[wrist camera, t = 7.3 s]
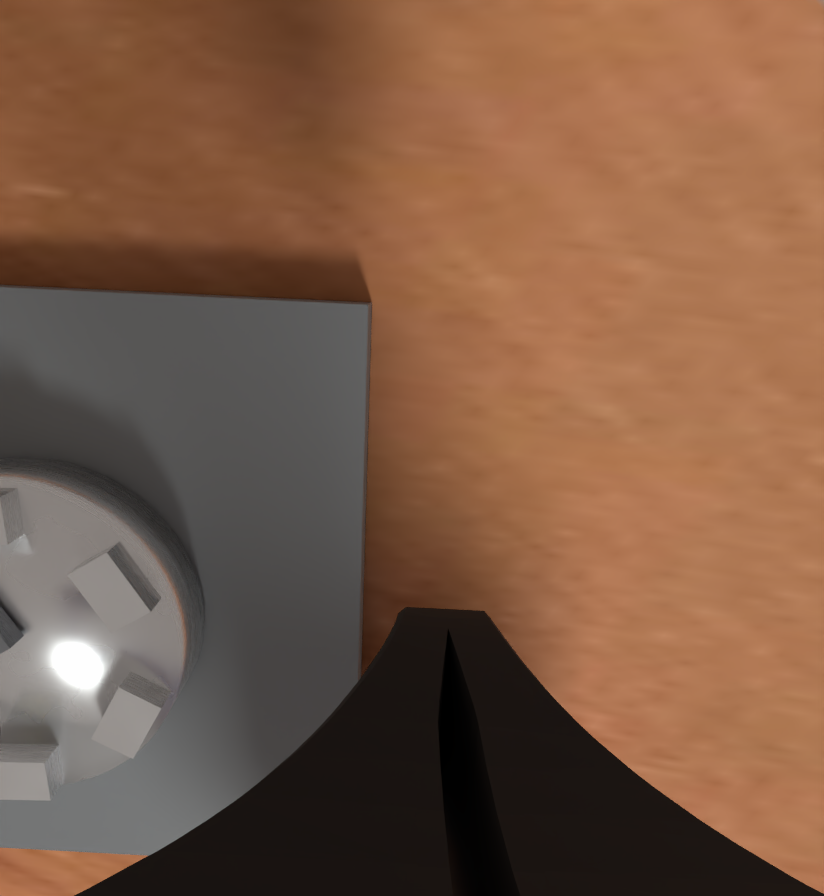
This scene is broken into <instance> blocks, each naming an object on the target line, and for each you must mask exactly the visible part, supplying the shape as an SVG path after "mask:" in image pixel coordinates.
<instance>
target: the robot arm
mask: <svg viewBox="0 0 824 896" xmlns="http://www.w3.org/2000/svg"><path fill="white" fill-rule="evenodd" d="M75 896H824V894H823V893H821V892H819V891H817V890H815V889H813V888H811V887H809V886H807V885H805V884H804V883H802V882H800V881H798V880H797V879H795V878H793V877H791V876H789V875H788V874H786V873H784V872H783V871H781V870H779V869H778V868H776V867H774V866H773V865H771V864H769V863H768V862H766V861H764V860H763V859H761V858H759V857H758V856H756V855H754V854H753V853H751V852H749V851H748V850H746V849H744V848H743V847H741V846H739V845H738V844H736V843H734V842H733V841H731V840H730V839H728V838H727V837H725V836H724V835H722V834H720V833H719V832H717V831H716V830H714V829H713V828H711V827H710V826H708V825H707V824H705V823H703V822H702V821H700V820H699V819H697V818H696V817H695V816H693V815H692V814H690V813H689V812H688V811H686V810H685V809H683V808H682V807H681V806H679V805H678V804H676V803H675V802H674V801H672V800H671V799H669V798H668V797H667V796H665V795H664V794H662V793H661V792H660V791H658V790H657V789H655V788H654V787H653V786H651V785H650V784H649V783H648V782H646V781H645V780H644V779H642V778H641V777H640V776H638V775H637V774H636V773H635V772H633V771H632V770H631V769H630V768H628V767H627V766H626V765H625V764H624V763H623V762H621V761H620V760H619V759H618V758H617V757H615V756H614V755H613V754H612V753H611V752H610V751H608V750H607V749H606V748H605V747H604V746H603V745H601V744H600V743H599V742H598V741H597V740H596V739H594V738H593V737H592V736H591V735H590V734H589V733H588V732H587V731H586V730H585V729H584V728H583V727H582V726H580V725H579V724H578V723H577V722H576V721H575V720H574V719H573V718H572V716H571V715H570V714H569V713H568V712H567V711H566V710H565V709H564V708H563V707H562V706H561V705H560V704H559V703H558V702H557V701H556V700H555V699H554V698H553V697H552V696H551V695H550V693H549V692H548V691H547V690H546V689H545V688H544V686H543V685H542V684H541V683H540V682H539V681H538V679H537V678H536V677H535V676H534V675H533V674H532V672H531V671H530V670H529V669H528V668H527V666H526V665H525V664H524V663H523V661H522V660H521V659H520V658H519V656H518V655H517V654H516V652H515V651H514V650H513V649H512V647H511V646H510V645H509V643H508V642H507V641H506V639H505V638H504V637H503V635H502V634H501V632H500V631H499V630H498V628H497V627H496V625H495V624H494V623H493V621H492V620H491V618H490V617H489V616H488V615H487V614H486V613H485V611H472V610H453V609H433V608H413V607H406V608H404V609H403V610H402V611H401V612H400V613H398V616H397V620H396V622H395V624H394V626H393V628H392V630H391V632H390V634H389V636H388V638H387V639H386V641H385V643H384V644H383V646H382V648H381V649H380V651H379V652H378V654H377V655H376V657H375V658H374V660H373V661H372V663H371V664H370V666H369V667H368V668H367V670H366V671H365V673H364V674H363V676H362V677H361V678H360V680H359V681H358V682H357V684H356V685H355V686H354V687H353V688H352V690H351V691H350V692H349V693H348V695H347V696H346V697H345V698H344V699H343V701H342V702H341V703H340V704H339V706H338V707H337V708H336V709H335V710H334V712H333V713H332V714H331V715H330V716H329V717H328V718H327V719H326V720H325V721H324V723H323V724H322V725H321V726H320V727H319V728H318V729H317V730H316V731H315V732H314V733H313V734H312V735H311V736H310V737H309V738H308V739H307V740H306V741H305V742H304V743H303V744H302V745H301V746H300V747H299V748H298V749H297V750H296V751H294V752H293V753H292V754H291V755H290V756H289V757H288V758H287V759H285V760H284V761H283V762H282V763H281V764H280V765H278V766H277V767H276V768H275V769H274V770H273V771H272V772H270V773H269V774H268V775H267V776H266V777H265V778H263V779H262V780H261V781H260V782H259V783H257V784H256V785H255V786H254V787H252V788H251V789H250V790H249V791H247V792H246V793H245V794H243V795H242V796H241V797H239V798H238V799H237V800H236V801H234V802H233V803H231V804H230V805H228V806H227V807H225V808H224V809H223V810H221V811H220V812H218V813H217V814H215V815H214V816H212V817H211V818H210V819H208V820H207V821H205V822H203V823H202V824H200V825H199V826H197V827H196V828H194V829H193V830H191V831H189V832H188V833H186V834H185V835H183V836H182V837H180V838H178V839H177V840H175V841H173V842H172V843H170V844H168V845H167V846H165V847H163V848H162V849H160V850H158V851H157V852H155V853H153V854H151V855H149V856H147V857H146V858H144V859H142V860H140V861H138V862H136V863H135V864H133V865H131V866H129V867H127V868H125V869H124V870H122V871H120V872H118V873H116V874H114V875H113V876H111V877H109V878H107V879H105V880H103V881H102V882H100V883H98V884H96V885H94V886H92V887H91V888H89V889H87V890H85V891H83V892H81V893H79V894H77V895H75Z"/></svg>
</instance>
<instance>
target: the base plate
mask: <svg viewBox="0 0 824 896" xmlns="http://www.w3.org/2000/svg"><path fill="white" fill-rule="evenodd" d="M371 319H372V303H371V302H350V301H329V300H308V299H288V298H267V297H246V296H225V295H204V294H183V293H162V292H141V291H120V290H100V289H79V288H58V287H37V286H16V285H0V460H1V459H6V458H22V457H31V458H45V459H53V460H58V461H63V462H68V463H72V464H75V465H78V466H81V467H84V468H87V469H91V470H93V471H95V472H97V473H100V474H102V475H104V476H106V477H108V478H110V479H112V480H114V481H116V482H117V483H119V484H121V485H122V486H124V487H126V488H127V489H129V490H131V491H132V492H133V493H134V494H136V495H137V496H138V497H140V498H141V499H142V500H143V501H145V502H146V503H147V504H148V505H150V506H151V507H152V508H153V509H154V510H155V511H156V512H157V513H158V514H159V515H160V516H161V517H162V518H163V519H164V521H165V522H166V523H167V524H168V525H169V527H170V528H171V529H172V530H173V532H174V533H175V534H176V535H177V537H178V539H179V540H180V542H181V544H182V545H183V547H184V548H185V550H186V552H187V553H188V556H189V558H190V560H191V562H192V564H193V567H194V569H195V571H196V574H197V577H198V581H199V584H200V587H201V591H202V598H203V604H204V633H203V640H202V646H201V649H200V652H199V656H198V659H197V662H196V664H195V666H194V668H193V670H192V672H191V675H190V677H189V678H188V680H187V682H186V683H185V685H184V687H183V689H182V690H181V692H180V694H179V695H178V697H177V699H176V701H175V702H174V704H173V706H172V708H171V709H170V711H169V713H168V714H167V716H166V718H165V720H164V721H163V723H162V724H161V726H160V727H159V729H158V730H157V731H156V733H155V734H154V736H153V737H152V738H151V739H150V740H149V741H148V742H147V743H146V744H145V745H144V747H143V748H142V749H140V750H139V751H138V752H137V753H136V755H135V757H134V758H133V759H132V758H129V759H128V760H127V761H125V762H123V763H122V764H120V765H118V766H117V767H115V768H113V769H111V770H109V771H107V772H105V773H102V774H100V775H98V776H95V777H93V778H89V779H85V780H82V781H78V782H75V783H69V784H62V785H61V787H60V788H59V790H58V791H57V792H56V794H55V795H54V797H53V798H52V800H51V801H45V800H0V847H3V848H21V849H39V850H58V851H76V852H94V853H113V854H131V855H151V854H153V853H155V852H157V851H158V850H160V849H162V848H163V847H165V846H167V845H168V844H170V843H172V842H173V841H175V840H177V839H178V838H180V837H182V836H183V835H185V834H186V833H188V832H189V831H191V830H193V829H194V828H196V827H197V826H199V825H200V824H202V823H203V822H205V821H207V820H208V819H210V818H211V817H212V816H214V815H215V814H217V813H218V812H220V811H221V810H223V809H224V808H225V807H227V806H228V805H230V804H231V803H233V802H234V801H236V800H237V799H238V798H239V797H241V796H242V795H243V794H245V793H246V792H247V791H249V790H250V789H251V788H252V787H254V786H255V785H256V784H257V783H259V782H260V781H261V780H262V779H263V778H265V777H266V776H267V775H268V774H269V773H270V772H272V771H273V770H274V769H275V768H276V767H277V766H278V765H280V764H281V763H282V762H283V761H284V760H285V759H287V758H288V757H289V756H290V755H291V754H292V753H293V752H294V751H296V750H297V749H298V748H299V747H300V746H301V745H302V744H303V743H304V742H305V741H306V740H307V739H308V738H309V737H310V736H311V735H312V734H313V733H314V732H315V731H316V730H317V729H318V728H319V727H320V726H321V725H322V724H323V723H324V721H325V720H326V719H327V718H328V717H329V716H330V715H331V714H332V713H333V712H334V710H335V709H336V708H337V707H338V706H339V704H340V703H341V702H342V701H343V699H344V698H345V697H346V696H347V695H348V693H349V692H350V691H351V690H352V688H353V687H354V686H355V685H356V684H357V682H358V681H359V680H360V678H361V661H362V627H363V593H364V558H365V524H366V490H367V456H368V422H369V387H370V353H371Z"/></svg>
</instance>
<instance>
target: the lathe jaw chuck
mask: <svg viewBox="0 0 824 896" xmlns="http://www.w3.org/2000/svg"><path fill="white" fill-rule="evenodd" d="M203 633H204V604H203V598H202V591H201V587H200V584H199V581H198V577H197V574H196V571H195V569H194V567H193V564H192V562H191V560H190V558H189V556H188V553H187V552H186V550H185V548H184V547H183V545H182V544H181V542H180V540H179V539H178V537H177V535H176V534H175V533H174V532H173V530H172V529H171V528H170V527H169V525H168V524H167V523H166V522H165V521H164V519H163V518H162V517H161V516H160V515H159V514H158V513H157V512H156V511H155V510H154V509H153V508H152V507H151V506H150V505H148V504H147V503H146V502H145V501H143V500H142V499H141V498H140V497H138V496H137V495H136V494H134V493H133V492H132V491H131V490H129V489H127V488H126V487H124V486H122V485H121V484H119V483H117V482H116V481H114V480H112V479H110V478H108V477H106V476H104V475H102V474H100V473H97V472H95V471H93V470H91V469H87V468H84V467H81V466H78V465H75V464H72V463H68V462H63V461H58V460H53V459H45V458H31V457H22V458H6V459H1V460H0V800H45V801H51V800H52V798H53V797H54V795H55V794H56V792H57V791H58V790H59V788H60V787H61V785H62V784H69V783H75V782H78V781H82V780H85V779H89V778H93V777H95V776H98V775H100V774H102V773H105V772H107V771H109V770H111V769H113V768H115V767H117V766H118V765H120V764H122V763H123V762H125V761H127V760H128V759H129V758H132V759H133V758H134V757H135V755H136V753H137V752H138V751H139V750H140V749H142V748H143V747H144V745H145V744H146V743H147V742H148V741H149V740H150V739H151V738H152V737H153V736H154V734H155V733H156V731H157V730H158V729H159V727H160V726H161V724H162V723H163V721H164V720H165V718H166V716H167V714H168V713H169V711H170V709H171V708H172V706H173V704H174V702H175V701H176V699H177V697H178V695H179V694H180V692H181V690H182V689H183V687H184V685H185V683H186V682H187V680H188V678H189V677H190V675H191V672H192V670H193V668H194V666H195V664H196V662H197V659H198V656H199V652H200V649H201V646H202V640H203Z"/></svg>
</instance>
